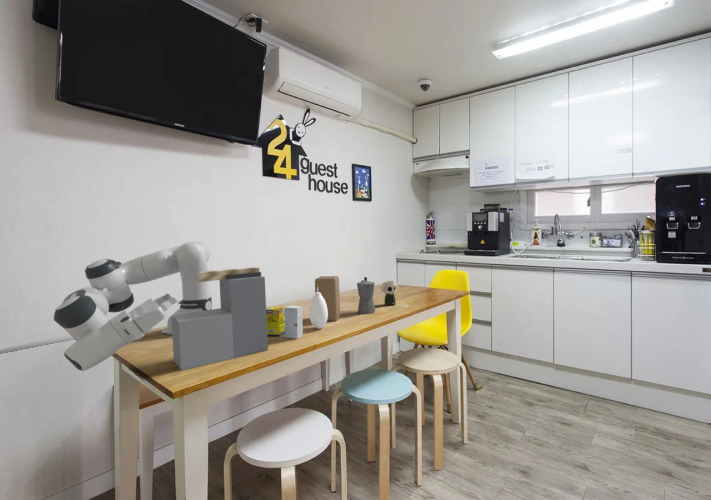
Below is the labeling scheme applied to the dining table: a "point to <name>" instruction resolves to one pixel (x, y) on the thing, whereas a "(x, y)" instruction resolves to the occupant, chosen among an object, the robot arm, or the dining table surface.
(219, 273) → the maple bar
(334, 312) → the wooden block
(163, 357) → the dining table surface
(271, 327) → the supplement box
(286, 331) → the skincare box
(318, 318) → the sauce bottle
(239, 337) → the stepped stand
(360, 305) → the coffeepot
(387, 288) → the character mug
